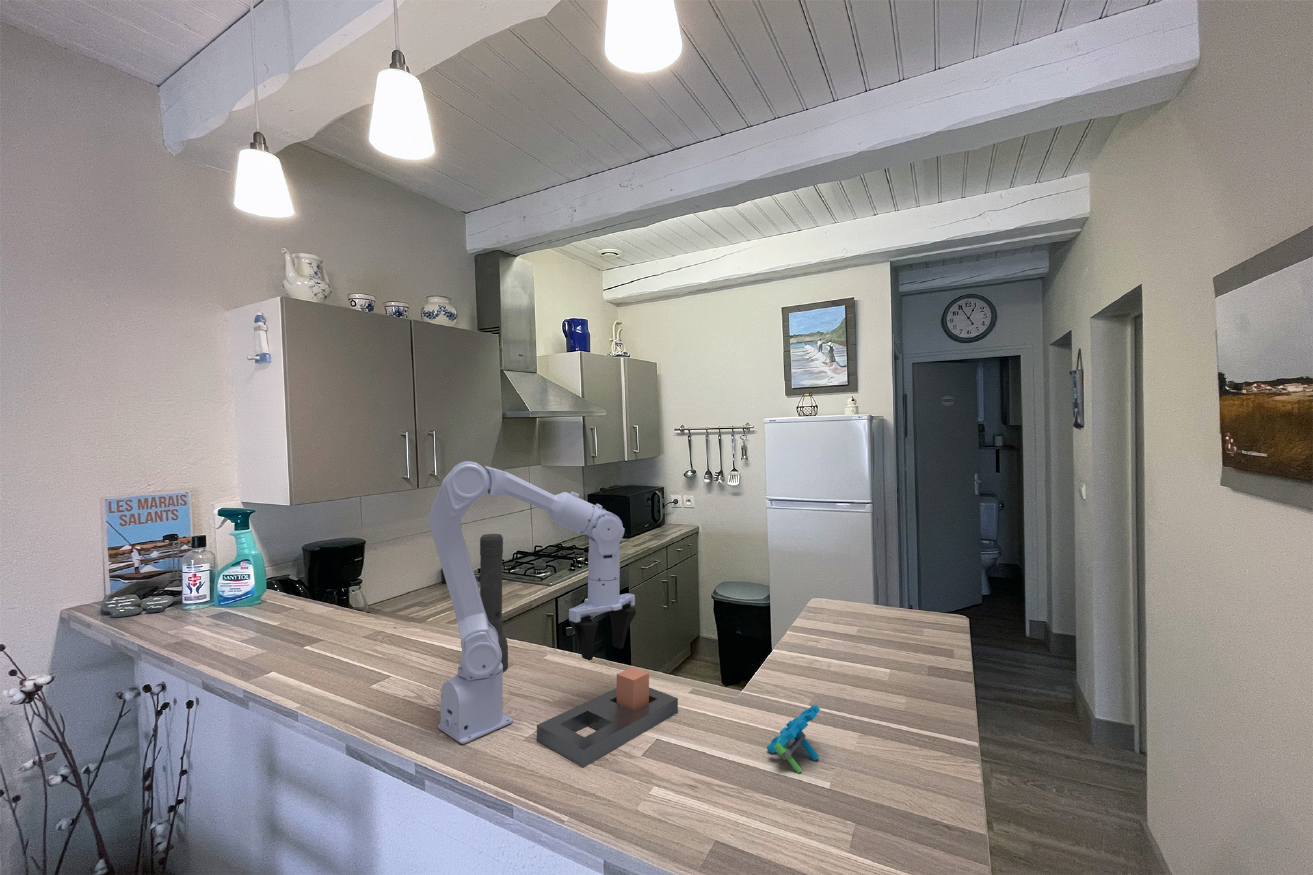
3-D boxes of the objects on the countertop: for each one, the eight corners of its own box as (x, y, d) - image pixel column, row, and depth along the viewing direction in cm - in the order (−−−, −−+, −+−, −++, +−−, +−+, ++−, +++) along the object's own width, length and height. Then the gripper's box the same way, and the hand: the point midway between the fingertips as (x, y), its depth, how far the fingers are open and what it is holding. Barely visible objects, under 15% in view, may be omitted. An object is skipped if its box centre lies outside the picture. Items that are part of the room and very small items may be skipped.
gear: (783, 720, 90) (822, 691, 85) (809, 753, 88) (850, 725, 83) (750, 758, 82) (790, 728, 77) (777, 796, 80) (821, 768, 74)
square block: (633, 721, 93) (633, 680, 93) (616, 714, 96) (616, 673, 96) (648, 713, 96) (648, 672, 96) (632, 706, 99) (632, 667, 99)
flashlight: (475, 678, 110) (510, 672, 113) (476, 538, 111) (511, 536, 114) (470, 665, 117) (504, 660, 120) (472, 533, 117) (505, 531, 120)
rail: (583, 767, 80) (583, 749, 80) (536, 740, 87) (536, 724, 87) (677, 712, 96) (677, 698, 96) (632, 694, 103) (632, 680, 103)
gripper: (588, 588, 92) (587, 670, 91) (647, 574, 102) (646, 647, 102) (561, 581, 96) (560, 659, 96) (620, 568, 107) (619, 638, 107)
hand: (603, 652), depth 99 cm, fingers open, 7 cm apart
